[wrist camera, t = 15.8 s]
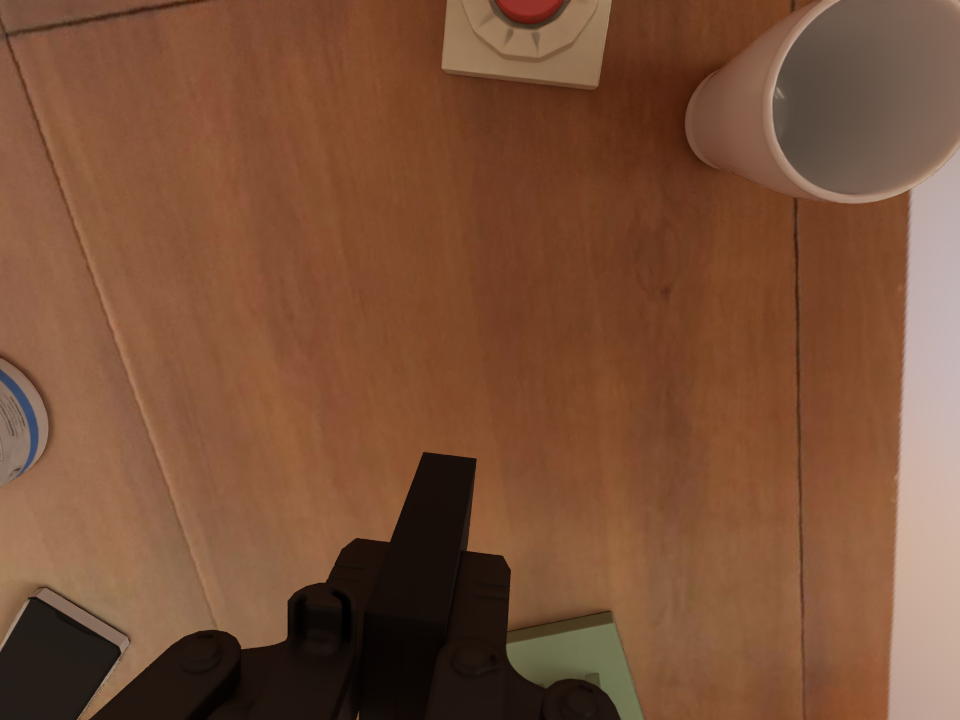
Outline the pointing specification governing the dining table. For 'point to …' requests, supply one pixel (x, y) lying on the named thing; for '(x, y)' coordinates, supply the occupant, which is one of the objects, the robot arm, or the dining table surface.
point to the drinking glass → (837, 101)
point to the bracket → (577, 658)
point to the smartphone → (55, 659)
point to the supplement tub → (19, 423)
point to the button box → (527, 43)
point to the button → (528, 9)
